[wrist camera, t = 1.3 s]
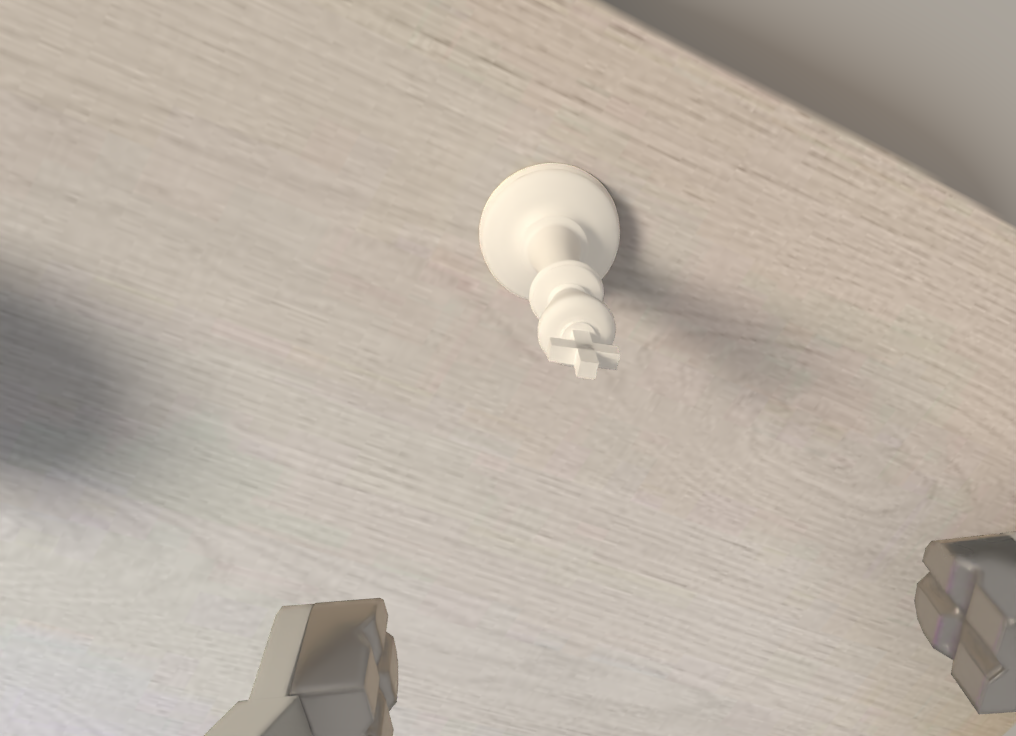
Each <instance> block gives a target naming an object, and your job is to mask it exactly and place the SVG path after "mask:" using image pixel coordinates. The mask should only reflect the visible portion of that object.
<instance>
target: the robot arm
mask: <svg viewBox="0 0 1016 736" xmlns="http://www.w3.org/2000/svg"><path fill="white" fill-rule="evenodd" d="M922 562H923V563H924V564H925V566H926V567H927V568H928V570H929V571H930V572H929V573H928V574H927V575H926V576H925V577H924V578H923V579H921V580H920V581H919V582H918V583H917V588H916V594H915V599H914V602H915V608H916V613H917V619H918V621H919V624H920V626H921V628H922V631H923V633H924V635H925V636H926V638H927V639H928V641H929V642H930V644H931V645H932V647H933V648H934V649H936V650H937V651H939V652H941V653H942V654H944V655H946V656H947V657H949V658H951V659H952V660H953V663H952V670H951V675H952V676H953V678H954V679H955V680H956V682H957V683H958V685H959V686H960V688H961V689H962V691H963V692H964V693H965V695H966V696H967V698H968V699H969V701H970V702H971V704H972V705H973V706H974V708H975V709H976V711H977V712H978V714H990V713H1004V712H1016V531H1014V532H1006V533H1000V534H988V535H980V536H971V537H962V538H953V539H944V540H935V541H931V542H930V543H929V545H928V546H927V547H926V548H925V552H924V556H923V560H922ZM387 621H388V613H387V610H386V606H385V603H384V600H383V599H381V598H373V599H360V600H347V601H334V602H321V603H315V604H305V605H291V606H282V608H281V609H280V610H279V611H278V613H277V614H276V616H275V619H274V622H273V625H272V628H271V632H270V635H269V638H268V641H267V644H266V647H265V650H264V653H263V657H262V660H261V663H260V666H259V669H258V672H257V675H256V679H255V682H254V685H253V688H252V691H251V694H250V697H249V700H244V701H238V702H237V703H236V704H235V705H234V706H233V707H232V708H231V709H230V710H229V711H228V712H227V713H226V714H225V715H224V716H223V717H222V718H221V719H220V720H219V721H218V722H217V723H216V724H215V725H214V726H213V727H212V728H211V729H210V730H209V731H208V732H207V733H206V734H205V735H204V736H393V726H392V722H391V718H390V714H389V711H390V709H391V708H392V707H393V706H394V705H395V703H396V702H397V692H398V659H397V651H396V646H395V642H394V637H393V636H391V635H390V634H389V633H387V632H386V629H387Z"/></svg>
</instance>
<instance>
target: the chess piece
mask: <svg viewBox="0 0 1016 736" xmlns="http://www.w3.org/2000/svg"><path fill="white" fill-rule="evenodd" d="M479 240H480V247H481V251H482V254H483V257H484V259H485V262H486V264H487V266H488V268H489V270H490V271H491V273H492V275H493V276H494V277H495V279H496V280H497V281H498V282H499V283H500V284H501V285H502V286H503V287H504V288H505V289H507V290H508V291H510V292H511V293H513V294H514V295H516V296H518V297H521V298H523V299H526V300H529V301H530V306H531V308H532V311H533V313H534V314H535V316H536V317H537V318H538V319H539V320H540V321H539V325H538V340H539V344H540V346H541V348H542V350H543V351H544V353H545V354H546V355H547V358H548V361H550V362H556V363H559V364H561V365H565V366H570V367H574V368H575V372H576V376H577V377H578V378H586V379H594V380H595V378H596V374H597V370H598V368H604V369H612V370H617V366H618V362H619V358H620V355H621V354H620V351H619V349H618V346H613V345H612V343H613V341H614V338H615V333H616V324H615V320H614V317H613V315H612V313H611V311H610V309H609V308H608V307H607V306H606V305H605V304H604V303H603V298H604V288H603V283H602V281H601V280H602V279H603V277H604V276H605V275H606V274H607V272H608V271H609V269H610V268H611V266H612V264H613V262H614V260H615V257H616V254H617V251H618V247H619V241H620V226H619V217H618V213H617V209H616V206H615V203H614V201H613V199H612V197H611V195H610V194H609V192H608V191H607V189H606V188H605V187H604V186H603V185H602V184H601V183H600V182H599V181H598V180H597V179H596V178H595V177H593V176H592V175H591V174H589V173H587V172H586V171H584V170H582V169H580V168H577V167H574V166H571V165H567V164H561V163H543V164H537V165H533V166H530V167H527V168H524V169H522V170H520V171H518V172H516V173H514V174H513V175H511V176H510V177H508V178H507V179H506V180H504V181H503V182H502V183H501V184H500V185H499V186H498V187H497V188H496V189H495V191H494V192H493V193H492V195H491V196H490V198H489V199H488V201H487V203H486V205H485V208H484V210H483V213H482V216H481V221H480V227H479Z"/></svg>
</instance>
